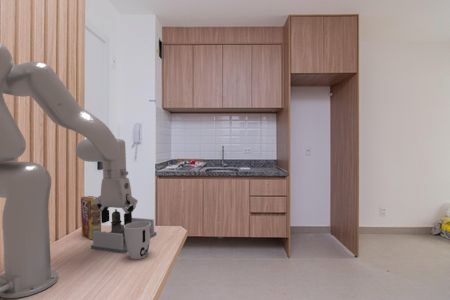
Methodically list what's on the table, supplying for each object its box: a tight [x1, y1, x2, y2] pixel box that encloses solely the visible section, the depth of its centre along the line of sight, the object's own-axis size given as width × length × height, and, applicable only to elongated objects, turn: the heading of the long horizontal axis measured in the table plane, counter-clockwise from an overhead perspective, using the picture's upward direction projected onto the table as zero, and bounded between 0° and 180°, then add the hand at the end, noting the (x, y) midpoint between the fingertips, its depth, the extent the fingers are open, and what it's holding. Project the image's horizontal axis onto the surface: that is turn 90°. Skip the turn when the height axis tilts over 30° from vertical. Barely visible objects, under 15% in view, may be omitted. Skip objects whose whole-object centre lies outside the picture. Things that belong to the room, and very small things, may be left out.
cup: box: [124, 221, 151, 260], centre depth 86 cm, size 8×8×10 cm
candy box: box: [80, 195, 102, 241], centre depth 106 cm, size 9×4×15 cm, turn 49°
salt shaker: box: [109, 208, 125, 243], centre depth 95 cm, size 6×6×12 cm
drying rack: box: [90, 217, 157, 254], centre depth 100 cm, size 18×14×6 cm
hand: (116, 223), depth 95 cm, fingers open, 9 cm apart
